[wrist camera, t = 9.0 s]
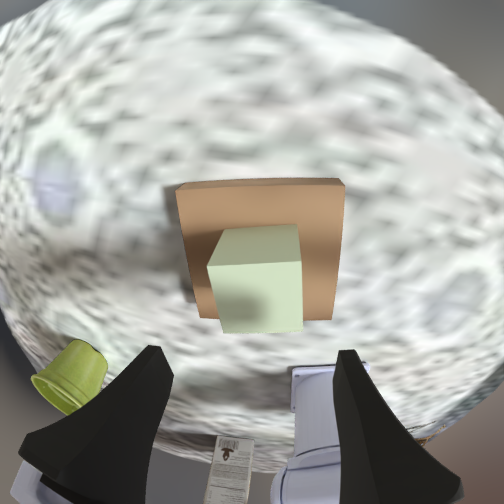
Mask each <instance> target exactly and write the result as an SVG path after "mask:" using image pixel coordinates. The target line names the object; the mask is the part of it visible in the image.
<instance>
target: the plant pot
mask: <svg viewBox="0 0 504 504" xmlns="http://www.w3.org/2000/svg"><path fill="white" fill-rule="evenodd" d="M107 369H108V364H107V362H106V360H105V358H104V357H103V356H102V355H101V353H99V352H96V351H95V350H94V349H93V348H92V346H91V345H90V344H88V343H86V342H84V341H81V340H73V341H72V342H71V343H70V344H69V345H68V346H67V347H66V348H65V349H64V350H63V351H62V352H61V353H60V354H59V355H58V356H57V357H56V358H55V359H54V360H53V361H52V362H51V363H50V364H49V365H48V366H47V367H46V368H45V369H43V370H41V371H40V372H39V373H38V374H37V375H36V374H35V375H32V377H31V380H32V383H33V384H34V386H35V387H36V389H37V390H38V391H39V392H40V394H42V396H43V397H44V398H45V399H47V400H48V401H49V402H50V403H51V404H52V405H54V406H55V407H56V408H58V409H59V410H60V411H62V412H63V413H65V414H66V415H70V414H71V413H73V412H74V411H76V410H78V409H79V408H81V407H82V406H83V405H85V404H86V403H87V402H89V401H90V400H91V399H93V398H94V397H95V396H96V395H98V394H99V392H100V389H101V386H102V383H103V380H104V377H105V375H106V372H107Z"/></svg>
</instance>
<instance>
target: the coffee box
mask: <svg viewBox="0 0 504 504" xmlns="http://www.w3.org/2000/svg"><path fill="white" fill-rule="evenodd" d="M253 450H254V440H253V439H243V438H234V437H226V436H219V435H217V439H216V444H215V449H214V454H213V459H212V463H211V468H210V473H209V478H208V482H207V487H206V491H205V496H204V501H203V504H247V500H248V493H249V486H250V477H251V469H252V460H253Z"/></svg>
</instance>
